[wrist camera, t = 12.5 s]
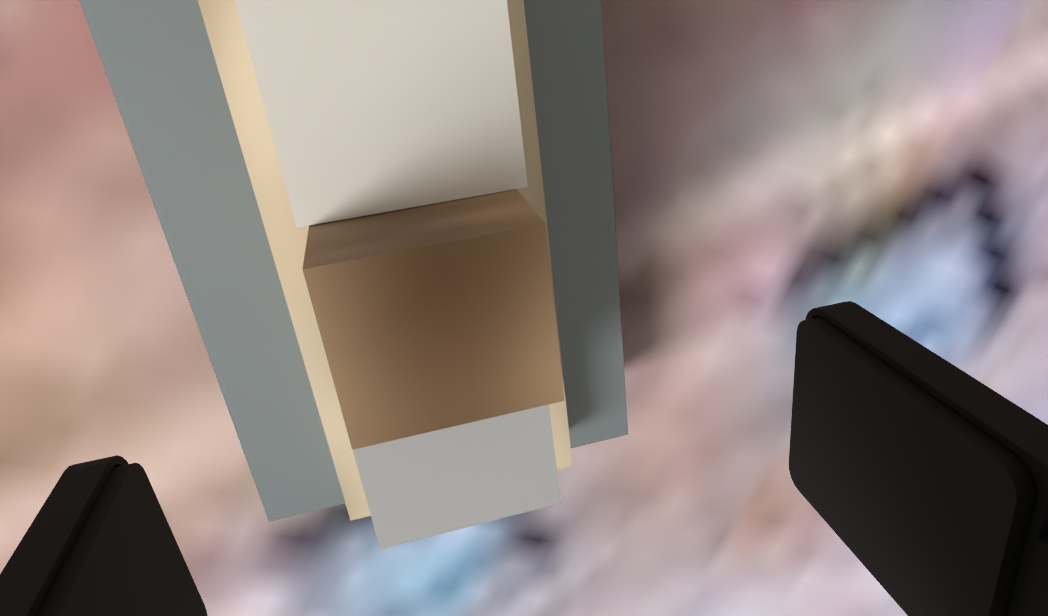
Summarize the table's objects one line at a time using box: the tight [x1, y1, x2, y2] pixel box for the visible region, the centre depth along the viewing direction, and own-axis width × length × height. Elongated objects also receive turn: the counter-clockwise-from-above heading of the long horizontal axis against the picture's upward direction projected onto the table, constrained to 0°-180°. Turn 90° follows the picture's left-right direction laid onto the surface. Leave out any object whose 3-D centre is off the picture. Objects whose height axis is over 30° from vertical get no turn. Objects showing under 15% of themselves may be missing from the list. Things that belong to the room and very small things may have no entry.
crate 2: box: [353, 405, 561, 549], centre depth 20 cm, size 5×5×5 cm
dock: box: [80, 0, 628, 522], centre depth 24 cm, size 14×22×4 cm, turn 7°
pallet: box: [198, 0, 573, 520], centre depth 18 cm, size 8×20×10 cm, turn 6°
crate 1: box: [235, 0, 528, 228], centre depth 16 cm, size 5×5×5 cm
